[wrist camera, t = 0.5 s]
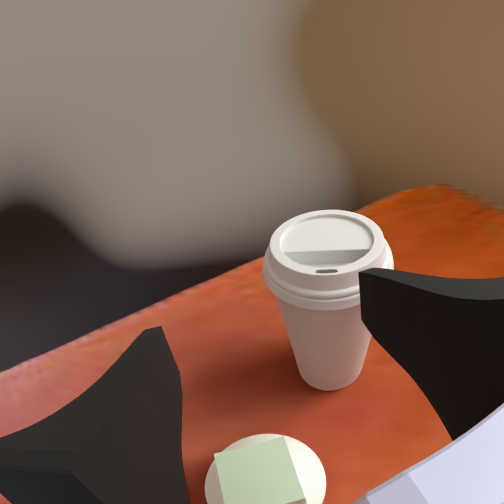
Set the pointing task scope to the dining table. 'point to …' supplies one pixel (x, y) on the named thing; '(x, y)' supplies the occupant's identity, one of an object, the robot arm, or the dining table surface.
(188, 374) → the dining table surface
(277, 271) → the coffee cup
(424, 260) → the dining table surface
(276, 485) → the pale green square block
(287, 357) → the dining table surface
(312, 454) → the white shallow dome
